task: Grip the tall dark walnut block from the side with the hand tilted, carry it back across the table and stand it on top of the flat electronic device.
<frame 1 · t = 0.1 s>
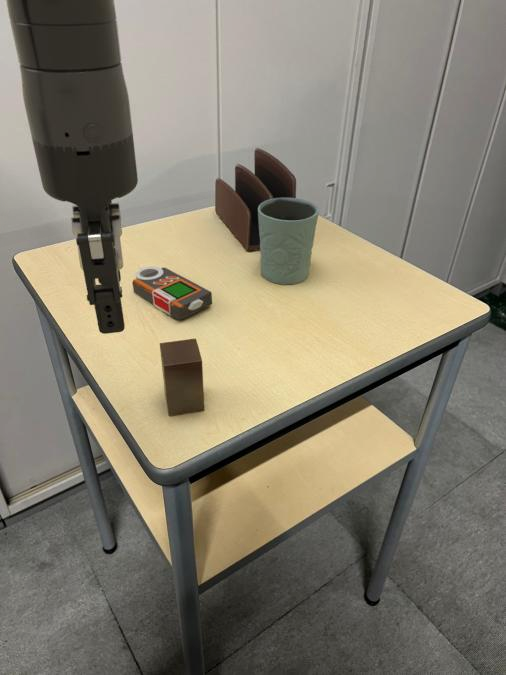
hand: (111, 305, 49), 18 cm above the table, tool pointing down, fingers open, 8 cm apart
walnut block: (184, 401, 65), on the table
green cup: (283, 272, 92), on the table
electronic device: (168, 297, 85), on the table
letter holder: (252, 228, 107), on the table
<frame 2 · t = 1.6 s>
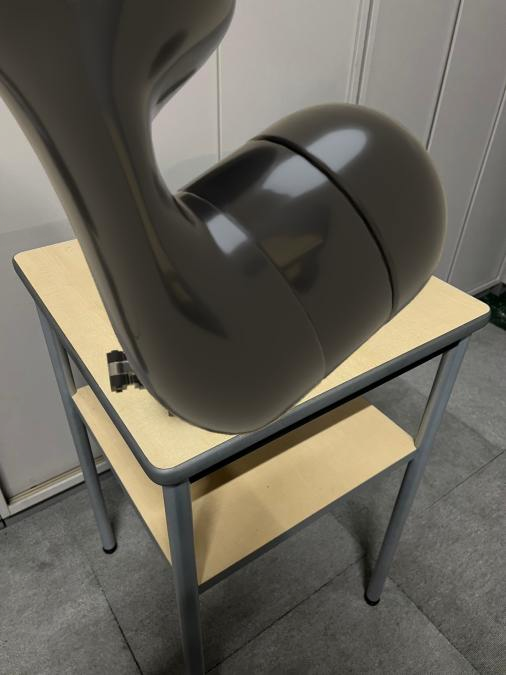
hand: (193, 369, 47), 15 cm above the table, tool tilted 45°, fingers open, 8 cm apart
nothing on the table moved.
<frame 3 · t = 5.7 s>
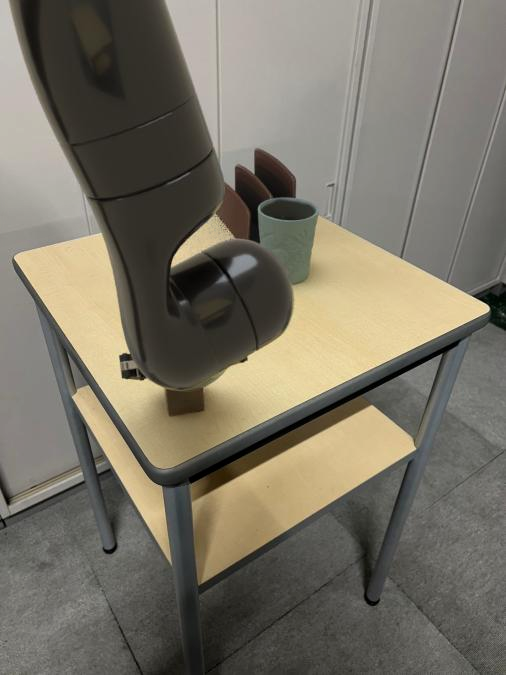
hand: (180, 367, 64), 4 cm above the table, tool tilted 45°, fingers closed on walnut block, 4 cm apart
walnut block: (184, 401, 65), on the table, touching gripper
everything else where it was.
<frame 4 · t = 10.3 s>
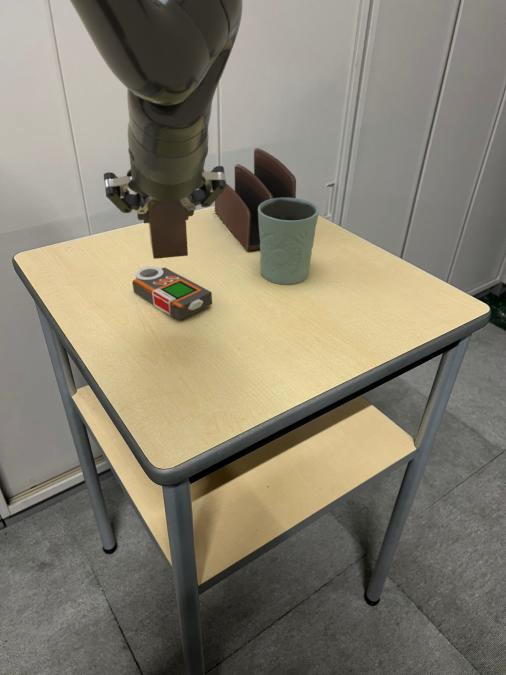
hand: (164, 214, 67), 18 cm above the table, tool tilted 45°, fingers closed on walnut block, 4 cm apart
walnut block: (169, 249, 68), point 14 cm above the table, touching gripper
everything else where it was.
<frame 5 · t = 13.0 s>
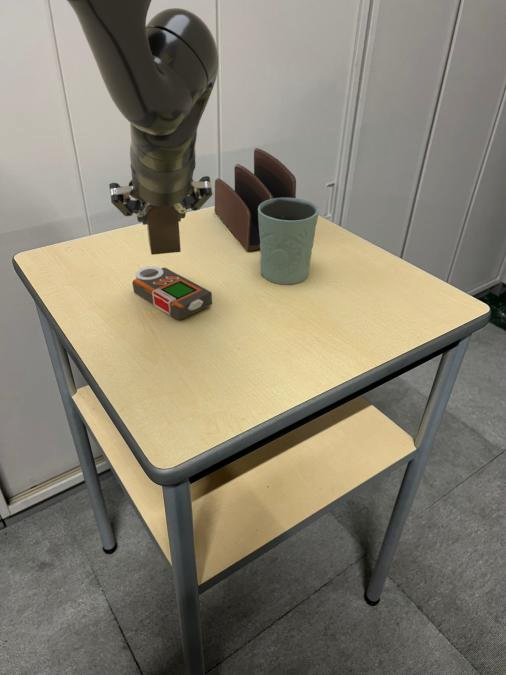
hand: (160, 217, 78), 13 cm above the table, tool tilted 45°, fingers closed on walnut block, 4 cm apart
walnut block: (164, 247, 79), point 9 cm above the table, touching gripper
everything else where it was.
when the fingers open (7 cm above the table, at t = 15.1 s): walnut block stays where it is, resting on electronic device.
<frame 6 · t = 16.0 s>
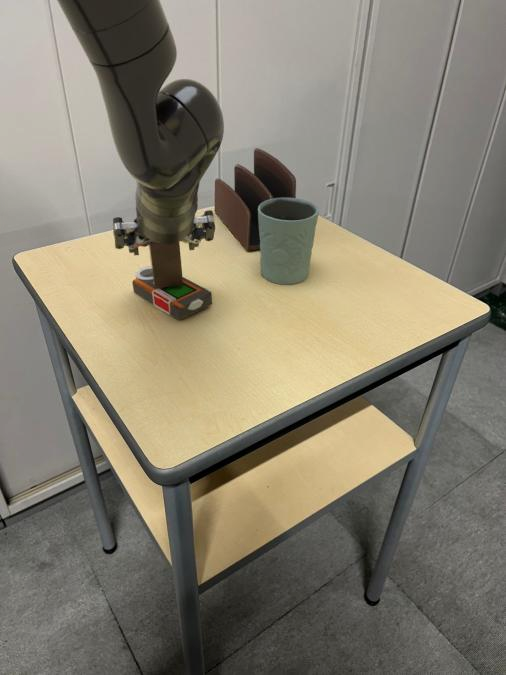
hand: (163, 246, 81), 8 cm above the table, tool tilted 45°, fingers open, 8 cm apart
walnut block: (167, 281, 83), point 3 cm above the table, tilted 7°, touching electronic device
electronic device: (168, 297, 85), on the table, touching walnut block
everything else where it was.
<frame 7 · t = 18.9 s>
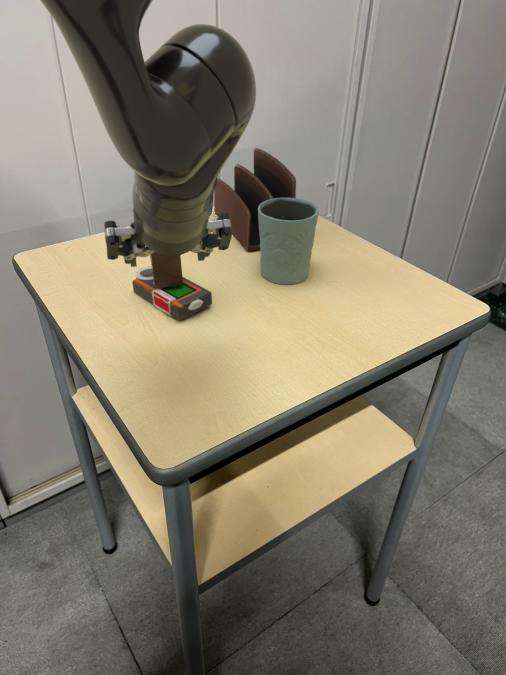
hand: (166, 256, 66), 14 cm above the table, tool tilted 45°, fingers open, 8 cm apart
nothing on the table moved.
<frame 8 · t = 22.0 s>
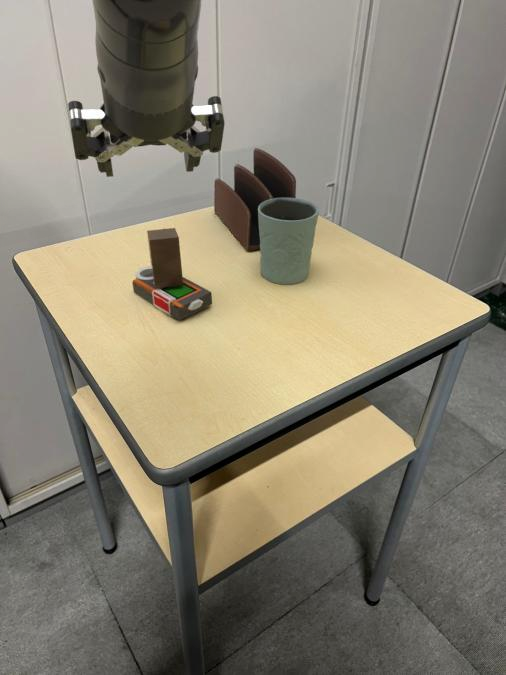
hand: (149, 166, 56), 27 cm above the table, tool tilted 45°, fingers open, 8 cm apart
nothing on the table moved.
at the end: walnut block inside the target area on the electronic device (0.1 cm from its centre), point 3.1 cm above the electronic device's base; walnut block tilted 6°; the gripper is holding nothing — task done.
